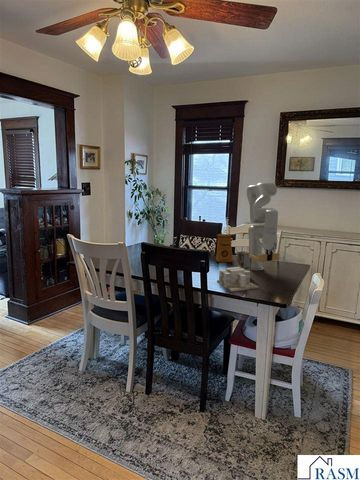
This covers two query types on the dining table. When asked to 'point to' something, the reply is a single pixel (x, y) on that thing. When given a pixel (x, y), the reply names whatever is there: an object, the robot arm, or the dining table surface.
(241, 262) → the coffee box
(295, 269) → the dining table surface
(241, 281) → the white block cluster
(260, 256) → the tan u-shaped bracket
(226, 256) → the coffee package
